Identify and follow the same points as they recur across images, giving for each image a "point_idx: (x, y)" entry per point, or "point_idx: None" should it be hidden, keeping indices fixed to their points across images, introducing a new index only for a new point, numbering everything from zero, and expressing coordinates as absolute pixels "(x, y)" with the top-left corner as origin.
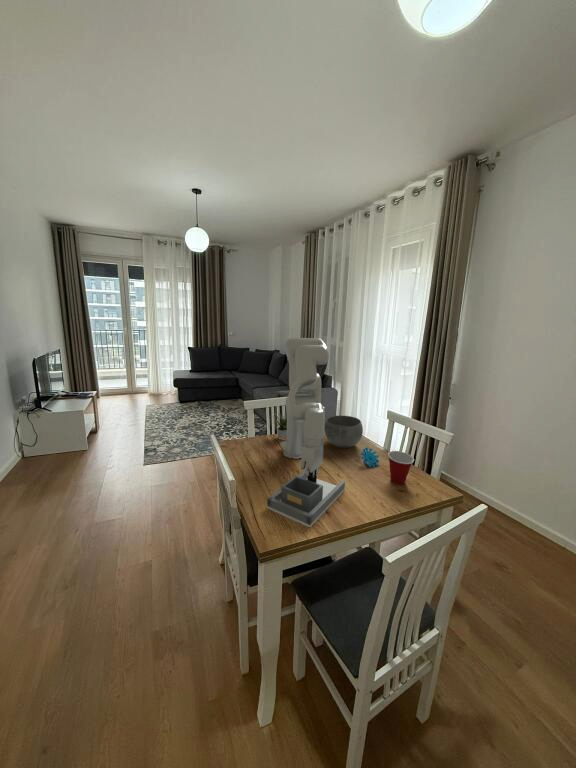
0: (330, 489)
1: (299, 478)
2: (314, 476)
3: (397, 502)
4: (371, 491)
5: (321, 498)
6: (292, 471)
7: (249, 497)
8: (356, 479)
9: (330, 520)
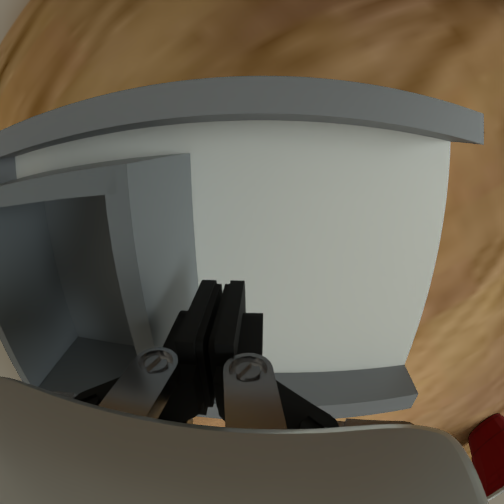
0: (359, 338)
1: (112, 237)
2: (202, 408)
3: None
4: (418, 424)
5: None
6: (436, 6)
7: (36, 14)
8: (491, 355)
9: None
